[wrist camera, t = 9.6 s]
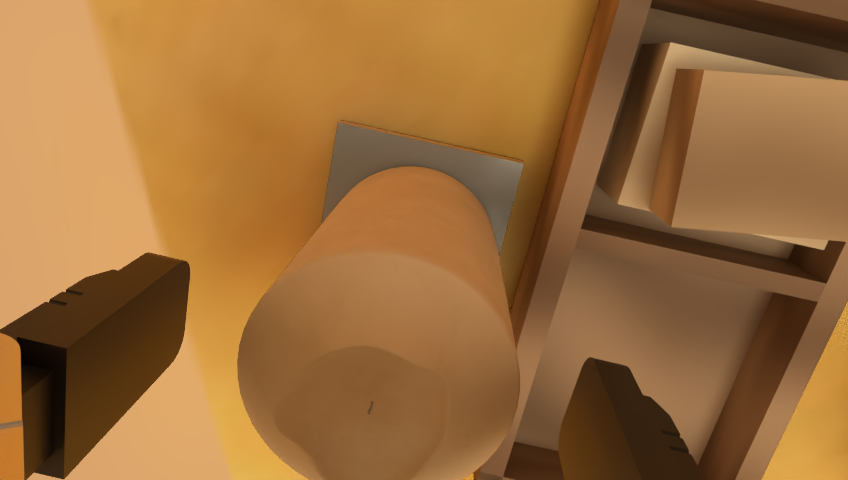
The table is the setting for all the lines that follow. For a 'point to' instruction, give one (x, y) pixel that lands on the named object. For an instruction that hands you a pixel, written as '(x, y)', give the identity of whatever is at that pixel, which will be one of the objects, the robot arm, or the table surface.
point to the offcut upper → (755, 155)
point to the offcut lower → (664, 120)
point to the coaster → (382, 149)
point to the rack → (672, 262)
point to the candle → (386, 338)
